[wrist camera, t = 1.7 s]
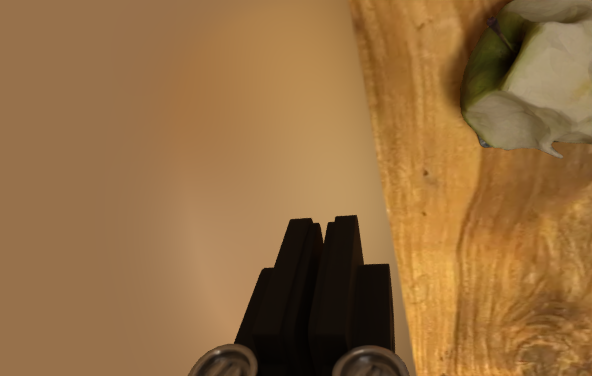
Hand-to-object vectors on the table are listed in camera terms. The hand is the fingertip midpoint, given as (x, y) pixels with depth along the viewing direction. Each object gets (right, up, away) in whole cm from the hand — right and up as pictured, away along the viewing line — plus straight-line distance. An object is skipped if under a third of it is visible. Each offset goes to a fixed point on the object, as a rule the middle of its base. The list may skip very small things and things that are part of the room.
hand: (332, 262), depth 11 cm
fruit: (+13, +9, +13) cm, 20 cm away
